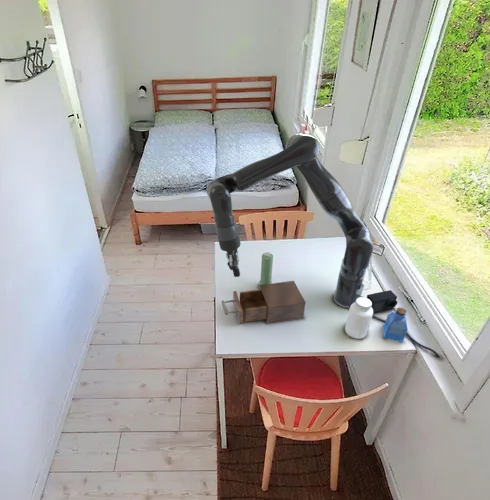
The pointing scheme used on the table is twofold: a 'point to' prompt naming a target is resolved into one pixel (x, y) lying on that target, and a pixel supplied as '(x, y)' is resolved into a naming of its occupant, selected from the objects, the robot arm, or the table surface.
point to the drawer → (248, 306)
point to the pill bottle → (359, 318)
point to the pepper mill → (266, 268)
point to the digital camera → (382, 301)
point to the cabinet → (283, 301)
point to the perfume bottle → (396, 325)
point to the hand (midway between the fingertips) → (237, 275)
